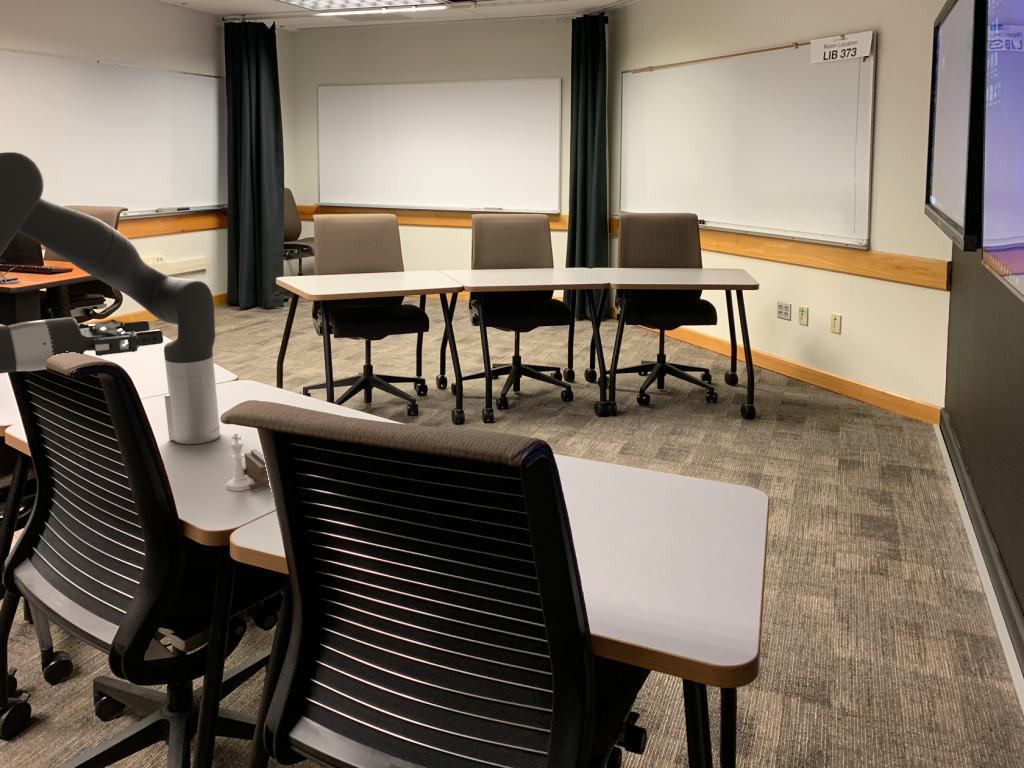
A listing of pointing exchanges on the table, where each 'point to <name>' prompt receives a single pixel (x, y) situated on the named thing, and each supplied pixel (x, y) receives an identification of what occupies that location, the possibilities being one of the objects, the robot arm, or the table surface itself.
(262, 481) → the sliding block
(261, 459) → the backstop wall
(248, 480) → the chess piece
